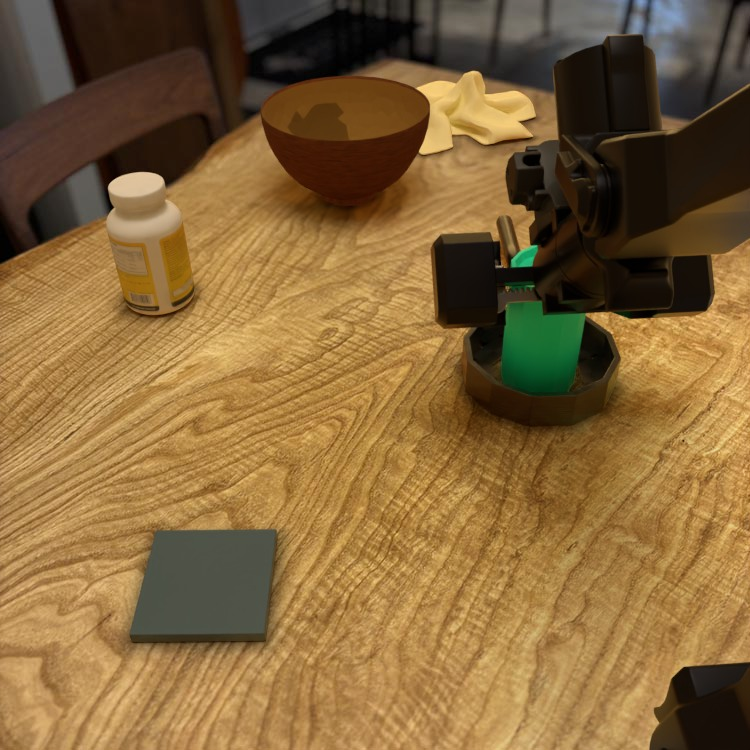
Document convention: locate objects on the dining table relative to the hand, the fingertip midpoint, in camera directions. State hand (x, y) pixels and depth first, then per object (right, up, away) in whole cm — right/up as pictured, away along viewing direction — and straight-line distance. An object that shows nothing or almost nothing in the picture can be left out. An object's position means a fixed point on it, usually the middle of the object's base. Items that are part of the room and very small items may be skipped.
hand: (541, 299), depth 66 cm
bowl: (-16, +14, +29) cm, 36 cm away
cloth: (-2, +27, +44) cm, 51 cm away
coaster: (-24, -19, -13) cm, 33 cm away
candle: (0, -6, +3) cm, 7 cm away
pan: (0, -1, +9) cm, 9 cm away
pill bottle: (-33, +1, +13) cm, 35 cm away
